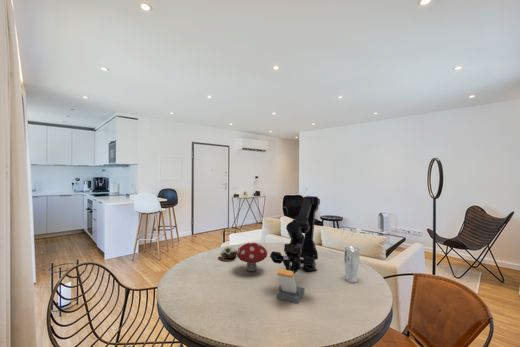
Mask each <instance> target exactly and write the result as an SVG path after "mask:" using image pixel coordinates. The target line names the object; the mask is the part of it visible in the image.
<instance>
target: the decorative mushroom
mask: <svg viewBox="0 0 520 347" xmlns="http://www.w3.org/2000/svg"><path fill="white" fill-rule="evenodd" d="M237 256H238V257H237V258H238V259H239V260H240V261H241V262H244V263H246V270H247V271H248V272H255V271H256V270H257V263H260V262H262V261H264V260H265V259H266V258H267V256H268V251H267V249H266V248H265V247H264V246H263V245H261V244H260V243H258V242H247V243H244V244H243V245H241V246H240V247H239V248H238V249H237Z"/></svg>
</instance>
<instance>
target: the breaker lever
mask: <svg viewBox="0 0 520 347" xmlns="http://www.w3.org/2000/svg"><path fill="white" fill-rule="evenodd" d="M276 272H277V276H278V280H279V283H280V285H281V288H282V291H286V292H290V293H294V294H297V287H296V286H297V283H296V278H295V274H294V272H293V271H289V270H286V269H284V268H283V269H282V268H278V270H277V271H276Z"/></svg>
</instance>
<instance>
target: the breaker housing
mask: <svg viewBox="0 0 520 347" xmlns="http://www.w3.org/2000/svg"><path fill="white" fill-rule="evenodd" d="M296 287H297V294H294V293H290V292H286V291H282V288H281V284H280V285H279V286H278V291H277V293H276V300H280V299H281V300H280V301H284V302H288V303H293V304H297V305H299V303H300V301H301V300H302V298H303V296H304V295H305V289H306V288H305V287H303V286H298V285H296Z"/></svg>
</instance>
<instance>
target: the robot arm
mask: <svg viewBox="0 0 520 347" xmlns="http://www.w3.org/2000/svg"><path fill="white" fill-rule="evenodd" d="M320 205H321V200H320V198H319V197H318V196H309V195H306V196H303V197H302V204H301V208H300V210H299V213H298V215H297V216H296V217H294V219H292V221H290V222H288V223H287V225H286V227H285V228H286V231H287V234H288V236H289V239H290V241H289V243H284V247H283V252H285V253H284V254H285V255H282V254H281V252H280V251H271V252H270V256H269V258H270V259H271V261H272V263H274V264H282V263H283V266H284V267H285V270H289V271H293V272H294V275H295V274H296V272H298V271H299V270H303V271H304V272H305V273H308V272H309V273H310V272H317V271H318V270H317V268H316V266H317V264H316V263H317V262H316V261H317V260H318V259H319V254H318V250H317V248H316V246H317V245H316V243H315V240H314V233H315V232H314V229H315V216H316V212H317V211H318V210H319V206H320Z"/></svg>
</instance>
